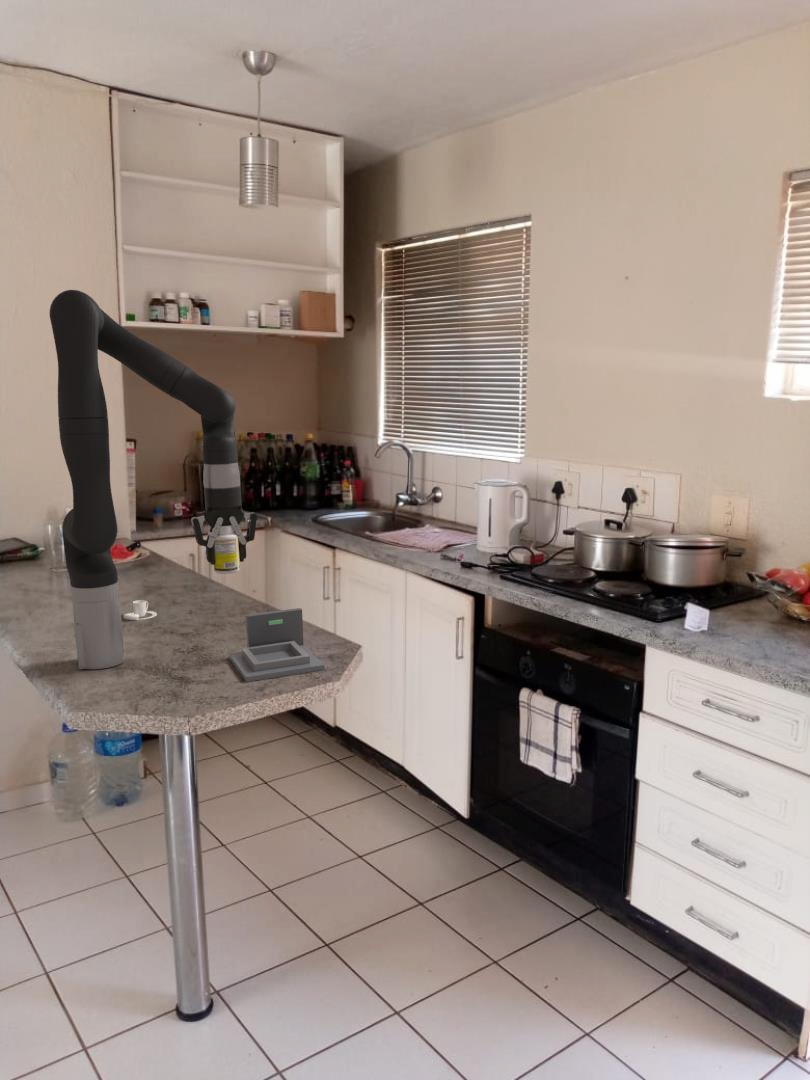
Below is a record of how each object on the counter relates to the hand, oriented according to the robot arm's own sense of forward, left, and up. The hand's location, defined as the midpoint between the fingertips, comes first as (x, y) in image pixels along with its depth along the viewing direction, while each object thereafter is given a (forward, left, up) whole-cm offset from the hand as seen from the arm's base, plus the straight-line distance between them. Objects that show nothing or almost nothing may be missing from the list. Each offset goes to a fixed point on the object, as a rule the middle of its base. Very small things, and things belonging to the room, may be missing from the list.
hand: (226, 562), depth 181 cm
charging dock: (+6, -14, -20) cm, 25 cm away
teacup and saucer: (-18, +39, -20) cm, 47 cm away
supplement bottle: (0, 0, -2) cm, 2 cm away
